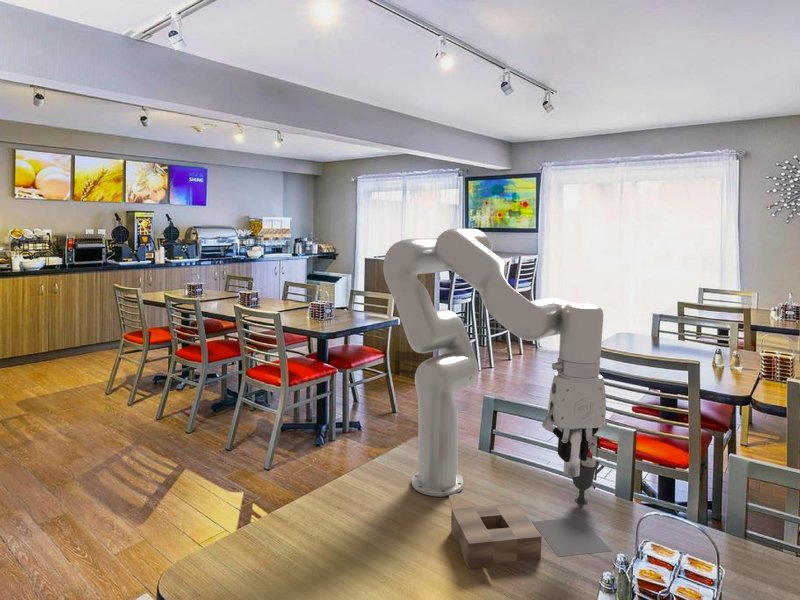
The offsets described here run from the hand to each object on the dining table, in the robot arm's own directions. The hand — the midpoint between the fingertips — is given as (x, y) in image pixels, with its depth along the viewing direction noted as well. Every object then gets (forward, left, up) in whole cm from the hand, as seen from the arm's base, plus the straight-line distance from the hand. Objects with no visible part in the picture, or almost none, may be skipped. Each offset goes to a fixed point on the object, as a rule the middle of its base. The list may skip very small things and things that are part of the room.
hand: (572, 457), depth 103 cm
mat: (0, 0, -17) cm, 17 cm away
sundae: (-12, +9, -17) cm, 23 cm away
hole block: (0, -16, -17) cm, 23 cm away
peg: (0, 0, -3) cm, 3 cm away
